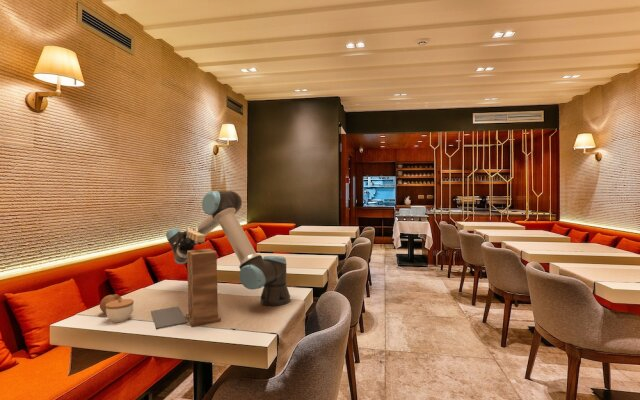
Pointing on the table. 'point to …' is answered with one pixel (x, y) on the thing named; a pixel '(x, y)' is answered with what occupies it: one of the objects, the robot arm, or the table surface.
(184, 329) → the table surface
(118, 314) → the lidded jar
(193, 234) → the maple bar
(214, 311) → the walnut pedestal
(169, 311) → the rubber mat
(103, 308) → the onion
